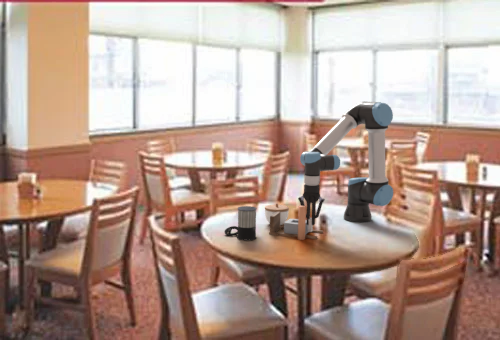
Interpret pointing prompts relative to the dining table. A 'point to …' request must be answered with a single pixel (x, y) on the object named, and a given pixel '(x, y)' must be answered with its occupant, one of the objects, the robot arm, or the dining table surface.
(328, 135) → the robot arm
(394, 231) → the dining table surface
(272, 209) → the lidded bowl
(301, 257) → the dining table surface
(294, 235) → the track
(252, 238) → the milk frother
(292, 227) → the block
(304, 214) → the dowel
